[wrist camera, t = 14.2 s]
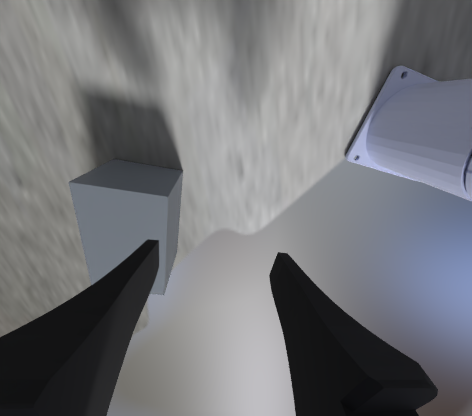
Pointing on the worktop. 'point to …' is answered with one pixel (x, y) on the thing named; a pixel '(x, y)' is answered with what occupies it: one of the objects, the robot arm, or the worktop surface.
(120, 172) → the grey rectangular block
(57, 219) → the worktop surface
